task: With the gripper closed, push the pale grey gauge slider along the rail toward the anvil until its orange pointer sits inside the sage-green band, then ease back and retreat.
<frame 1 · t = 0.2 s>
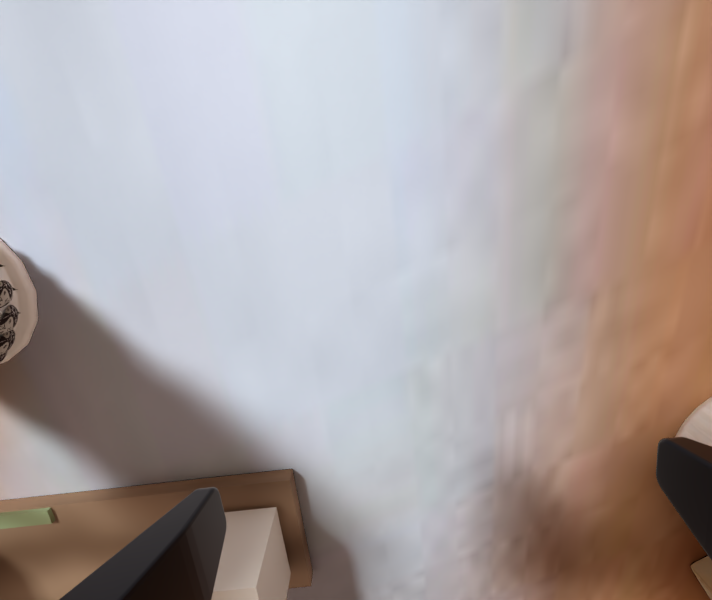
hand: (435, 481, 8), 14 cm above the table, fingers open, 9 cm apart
gauge board: (118, 541, 26), on the table
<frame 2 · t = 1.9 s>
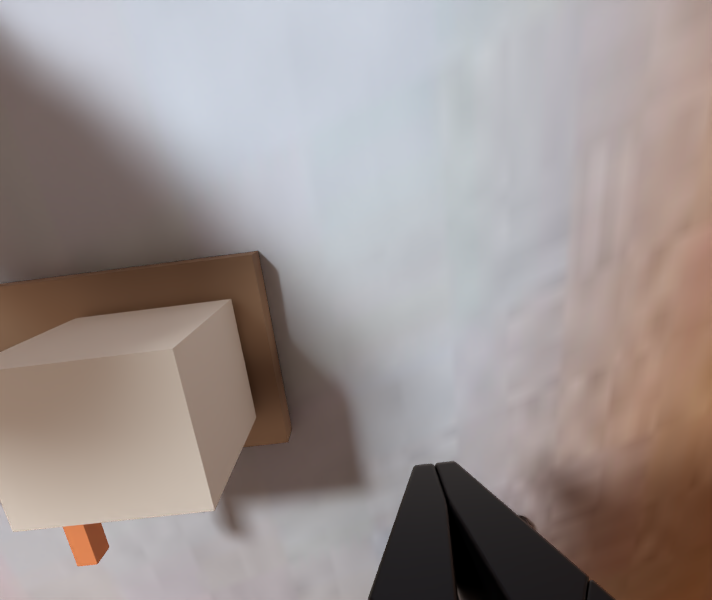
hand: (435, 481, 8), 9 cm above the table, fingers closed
gauge slider: (146, 438, 14), point 4 cm above the table, slide at 0.0 cm
gauge board: (1, 378, 17), on the table
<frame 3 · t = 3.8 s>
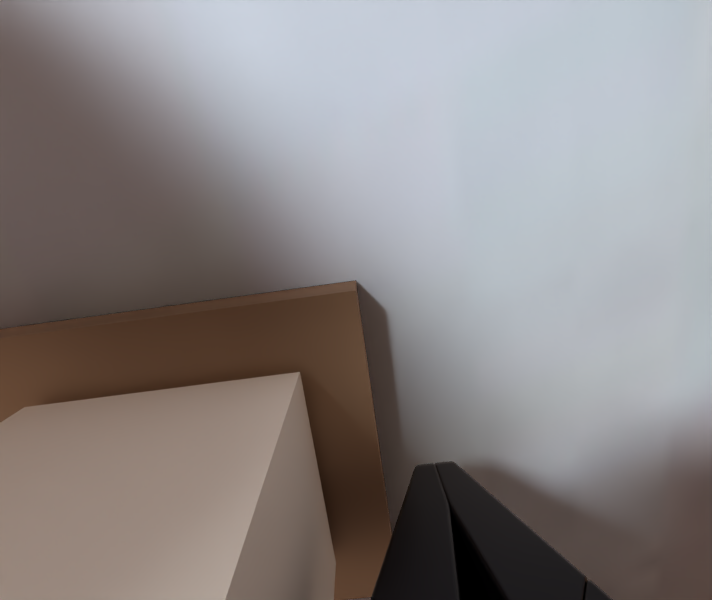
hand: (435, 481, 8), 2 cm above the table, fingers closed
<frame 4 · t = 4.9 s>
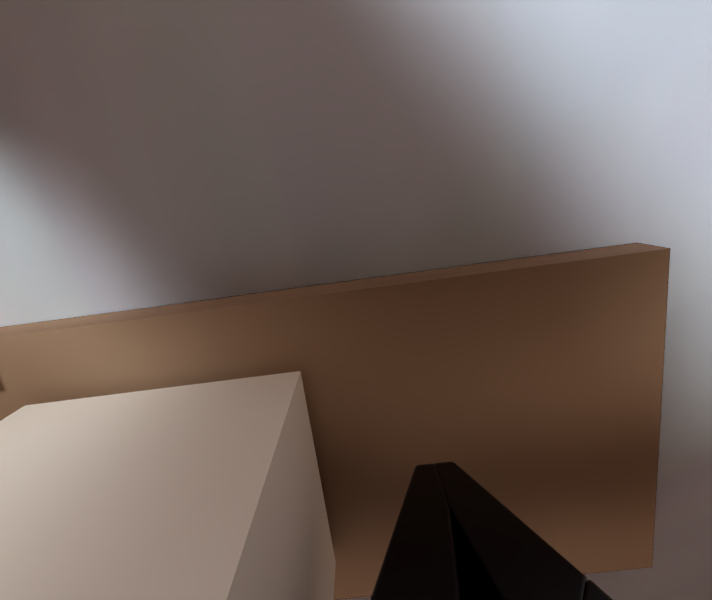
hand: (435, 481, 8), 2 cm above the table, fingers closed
gauge board: (160, 458, 11), on the table
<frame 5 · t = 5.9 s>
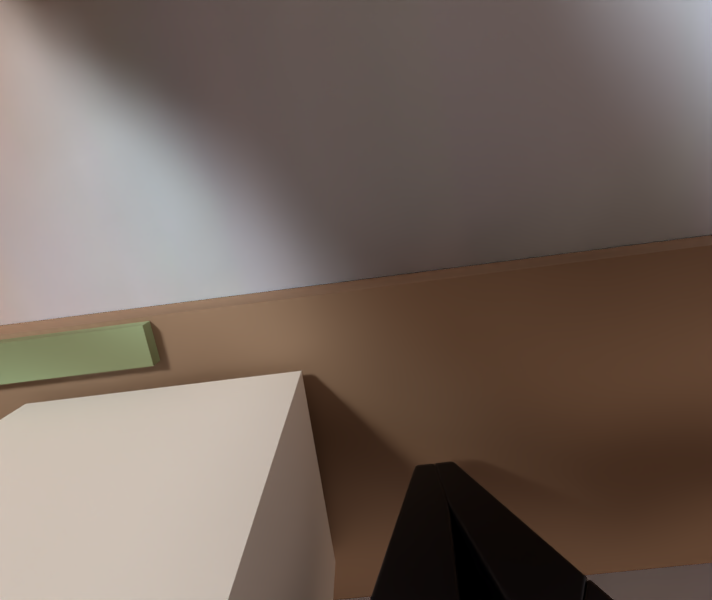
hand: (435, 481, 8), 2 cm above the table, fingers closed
gauge board: (302, 441, 10), on the table
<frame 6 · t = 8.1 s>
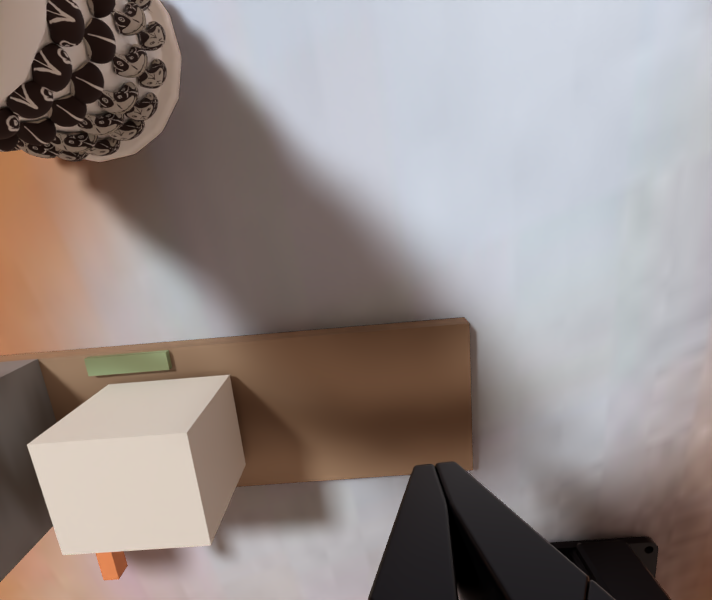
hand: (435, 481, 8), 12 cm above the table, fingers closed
gauge slider: (160, 484, 18), point 4 cm above the table, slide at 10.6 cm
decorative candle: (87, 61, 18), on the table
gauge board: (238, 408, 22), on the table
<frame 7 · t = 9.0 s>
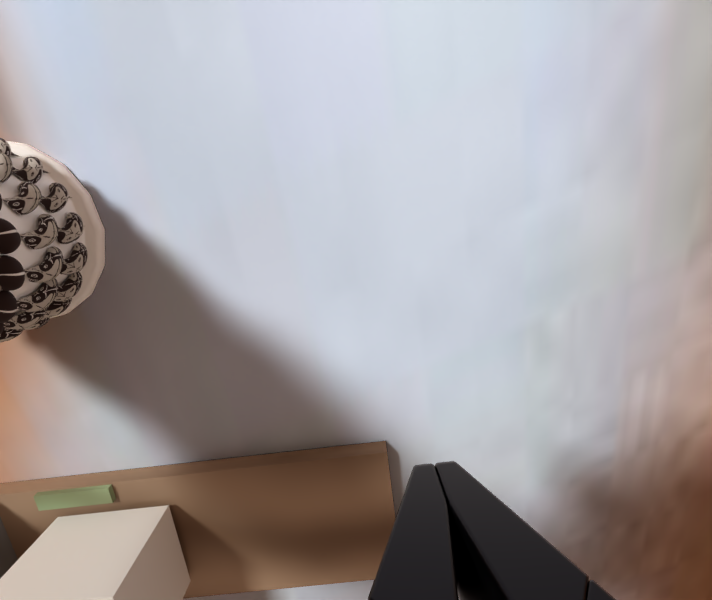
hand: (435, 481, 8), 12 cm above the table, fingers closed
decorative candle: (18, 235, 19), on the table
gauge board: (183, 525, 23), on the table
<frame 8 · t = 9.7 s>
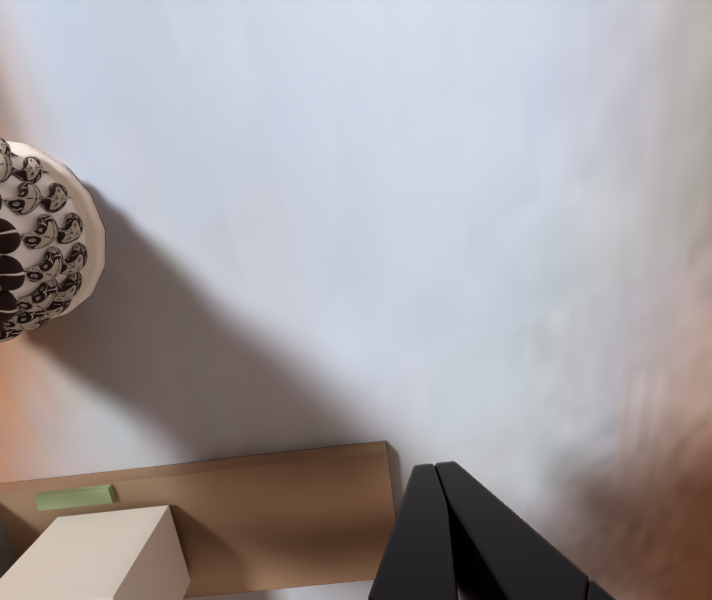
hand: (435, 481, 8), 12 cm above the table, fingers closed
decorative candle: (18, 235, 19), on the table
gauge board: (183, 525, 23), on the table
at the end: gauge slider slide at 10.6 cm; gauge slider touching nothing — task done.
